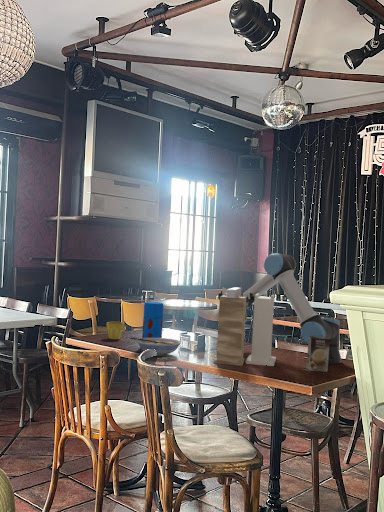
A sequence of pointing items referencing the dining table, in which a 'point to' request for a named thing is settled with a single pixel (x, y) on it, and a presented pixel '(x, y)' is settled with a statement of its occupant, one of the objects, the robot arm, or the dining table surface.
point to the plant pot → (115, 329)
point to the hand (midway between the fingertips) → (235, 290)
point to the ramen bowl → (158, 345)
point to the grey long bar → (233, 292)
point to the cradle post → (262, 332)
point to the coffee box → (318, 353)
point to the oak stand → (231, 331)
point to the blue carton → (152, 320)
